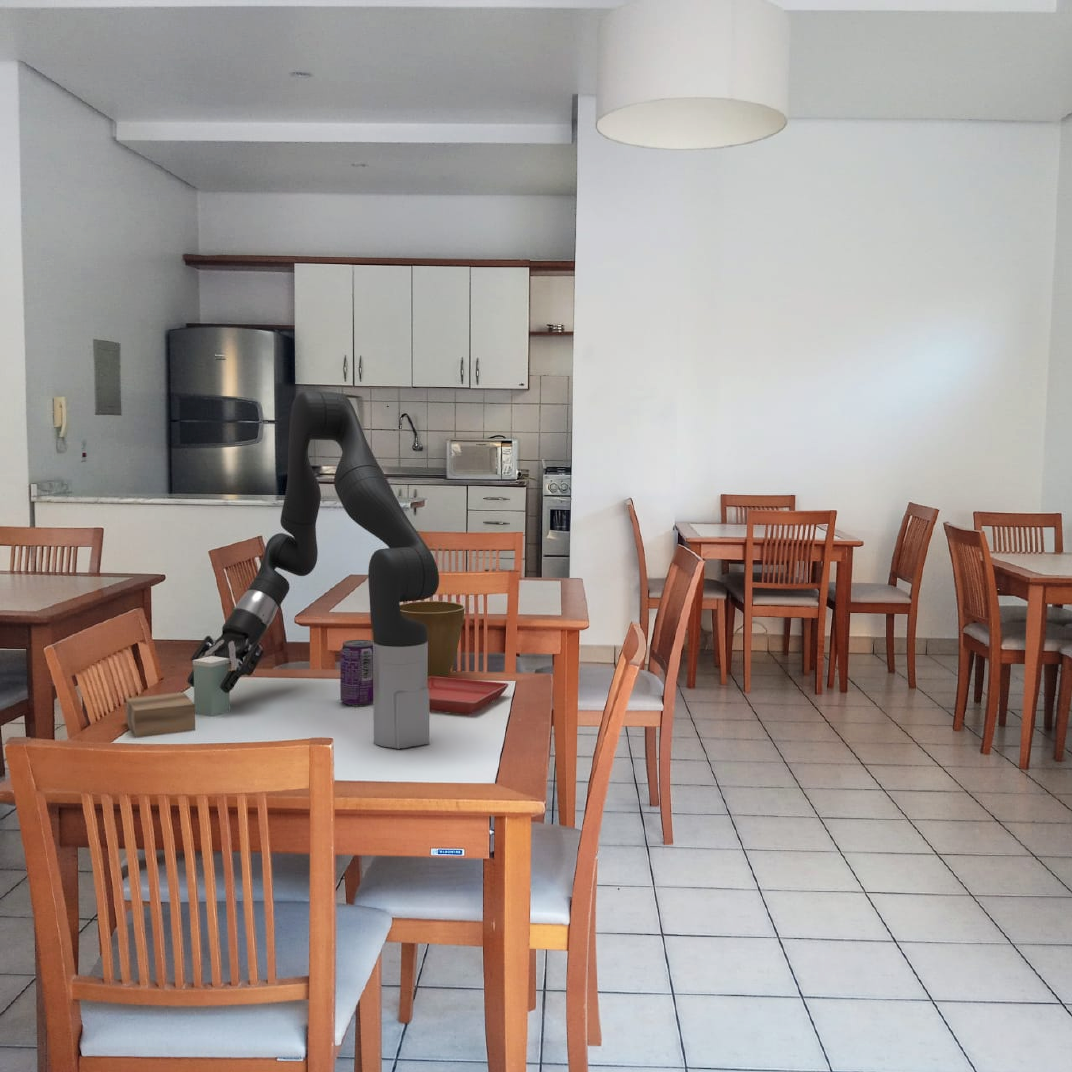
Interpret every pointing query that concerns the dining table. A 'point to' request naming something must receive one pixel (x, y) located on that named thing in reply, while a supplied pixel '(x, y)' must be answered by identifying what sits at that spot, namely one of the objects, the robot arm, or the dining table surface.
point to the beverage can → (356, 672)
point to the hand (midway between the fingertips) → (207, 687)
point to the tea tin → (210, 685)
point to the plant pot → (438, 631)
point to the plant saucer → (462, 694)
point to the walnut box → (160, 714)
